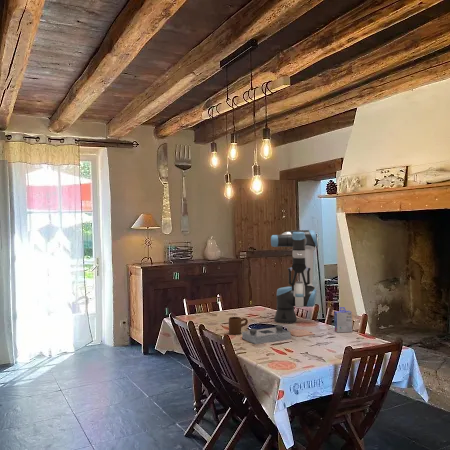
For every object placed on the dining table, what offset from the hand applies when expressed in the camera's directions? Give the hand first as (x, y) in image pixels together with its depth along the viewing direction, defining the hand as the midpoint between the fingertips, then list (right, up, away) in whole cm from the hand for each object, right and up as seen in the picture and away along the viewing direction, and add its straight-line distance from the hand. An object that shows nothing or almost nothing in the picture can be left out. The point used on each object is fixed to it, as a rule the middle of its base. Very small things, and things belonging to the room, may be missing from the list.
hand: (299, 296), depth 270 cm
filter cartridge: (0, -6, 0) cm, 6 cm away
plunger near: (-29, -22, -16) cm, 39 cm away
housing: (-21, -23, -11) cm, 33 cm away
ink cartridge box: (+28, -23, +6) cm, 36 cm away
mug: (-36, -23, +3) cm, 43 cm away
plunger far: (-13, -22, -7) cm, 26 cm away
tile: (0, -23, 0) cm, 23 cm away
